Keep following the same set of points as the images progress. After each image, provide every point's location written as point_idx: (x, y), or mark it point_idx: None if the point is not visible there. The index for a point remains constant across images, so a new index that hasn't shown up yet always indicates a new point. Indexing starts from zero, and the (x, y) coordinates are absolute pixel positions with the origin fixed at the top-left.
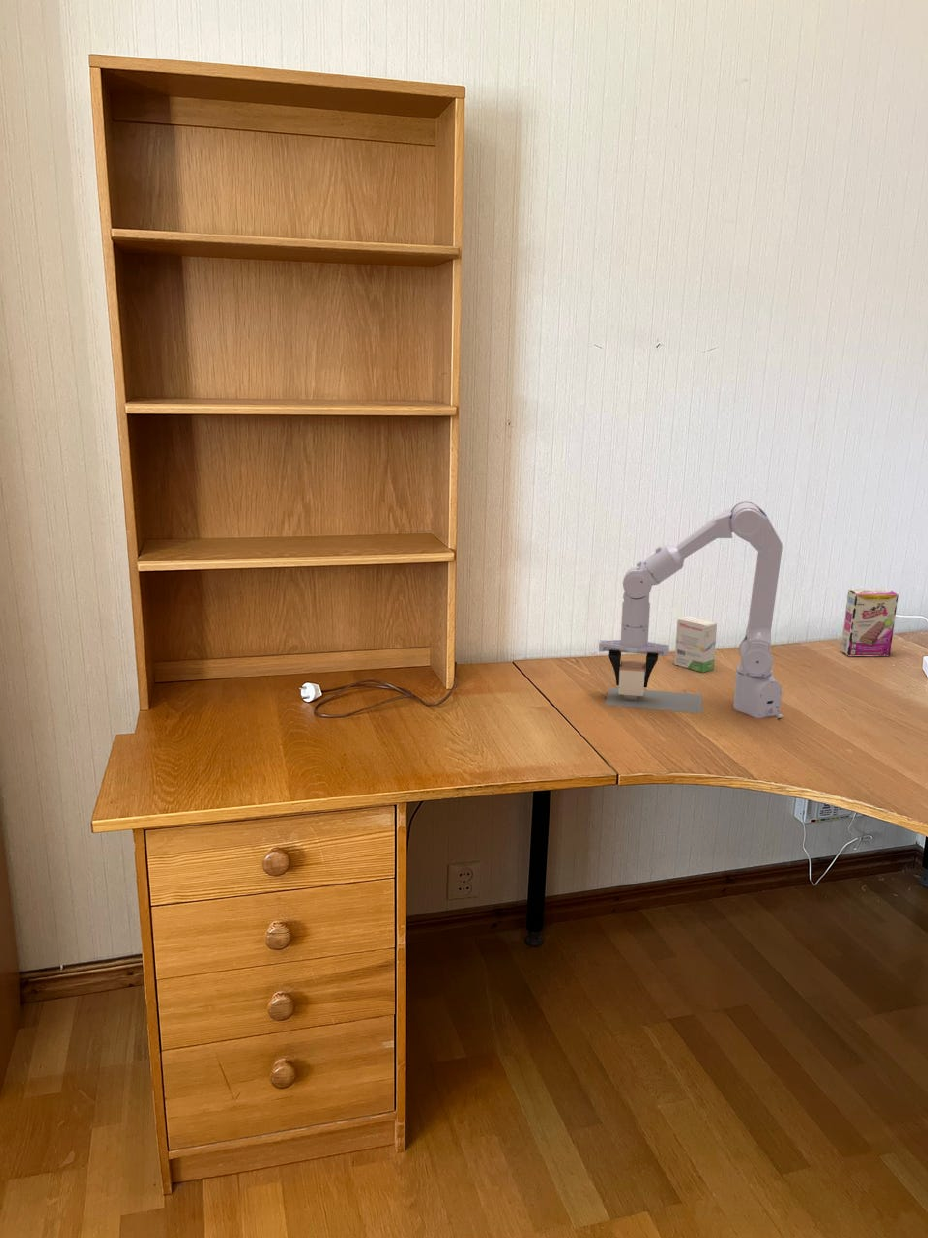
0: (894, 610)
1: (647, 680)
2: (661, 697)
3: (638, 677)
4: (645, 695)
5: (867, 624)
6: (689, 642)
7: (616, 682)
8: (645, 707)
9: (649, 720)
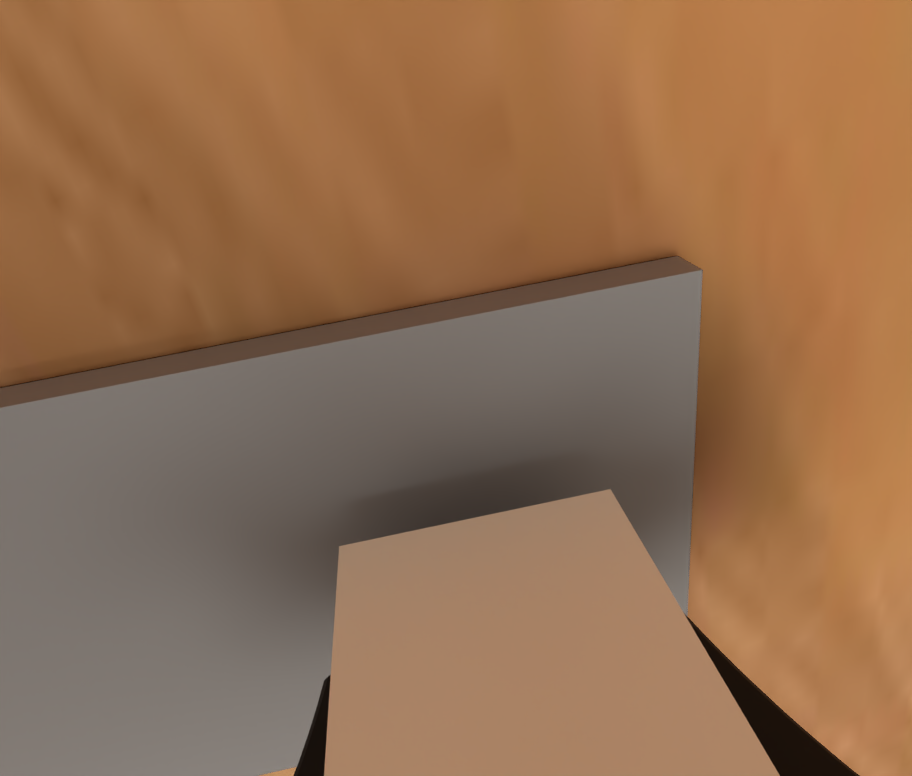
0: None
1: (301, 764)
2: (230, 671)
3: (416, 752)
4: None
5: None
6: None
7: (691, 622)
8: (266, 387)
9: (120, 119)
